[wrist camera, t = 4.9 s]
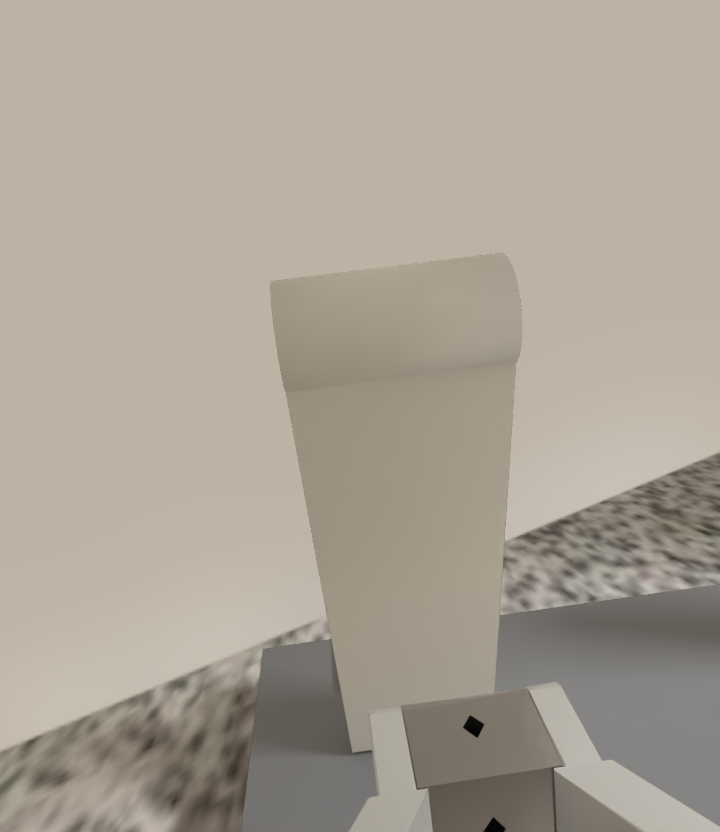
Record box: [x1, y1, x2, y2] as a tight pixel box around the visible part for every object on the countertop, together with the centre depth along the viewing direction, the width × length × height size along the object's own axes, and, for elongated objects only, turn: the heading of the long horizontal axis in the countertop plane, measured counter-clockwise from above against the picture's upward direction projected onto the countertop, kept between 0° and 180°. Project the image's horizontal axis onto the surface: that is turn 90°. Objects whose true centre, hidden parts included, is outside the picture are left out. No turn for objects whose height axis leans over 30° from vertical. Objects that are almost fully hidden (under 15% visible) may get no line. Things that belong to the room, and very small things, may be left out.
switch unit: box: [241, 584, 720, 832], centre depth 20 cm, size 28×10×3 cm, turn 94°
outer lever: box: [270, 253, 522, 753], centre depth 15 cm, size 4×2×14 cm, turn 94°
